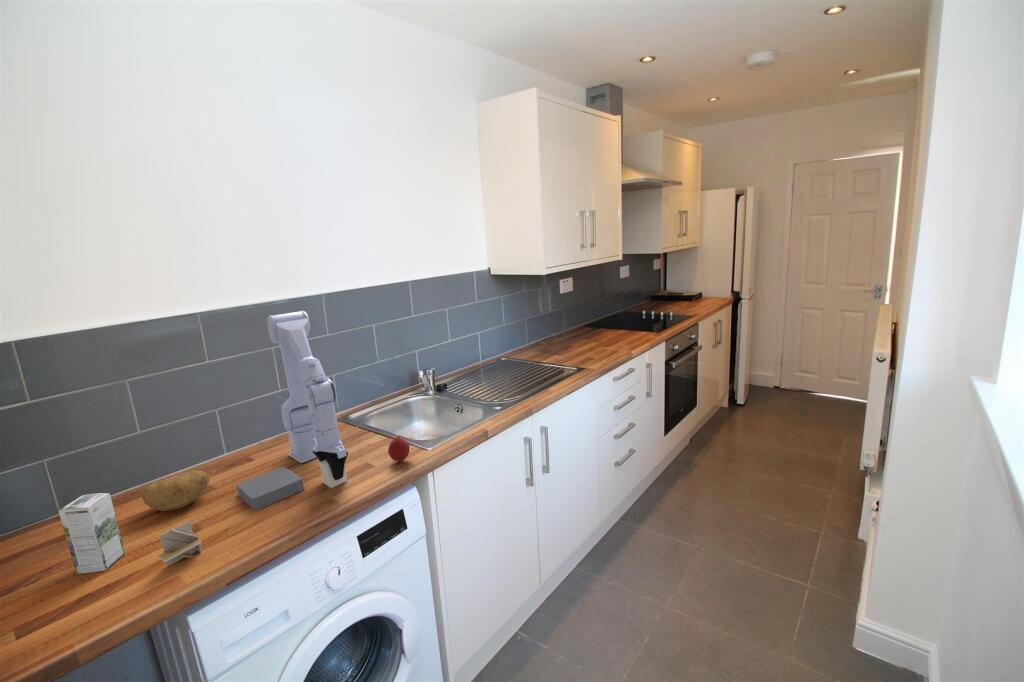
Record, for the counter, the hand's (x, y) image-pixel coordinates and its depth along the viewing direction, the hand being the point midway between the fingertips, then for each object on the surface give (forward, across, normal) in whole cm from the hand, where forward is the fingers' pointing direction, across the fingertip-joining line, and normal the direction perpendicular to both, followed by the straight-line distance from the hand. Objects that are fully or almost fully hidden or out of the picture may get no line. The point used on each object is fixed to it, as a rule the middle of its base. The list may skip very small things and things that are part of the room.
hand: (334, 475), depth 125 cm
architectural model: (+2, +5, -35) cm, 36 cm away
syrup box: (+2, -8, -47) cm, 48 cm away
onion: (+2, +5, +17) cm, 18 cm away
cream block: (+2, 0, 0) cm, 2 cm away
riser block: (+2, -9, -13) cm, 16 cm away
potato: (+2, -22, -30) cm, 37 cm away
